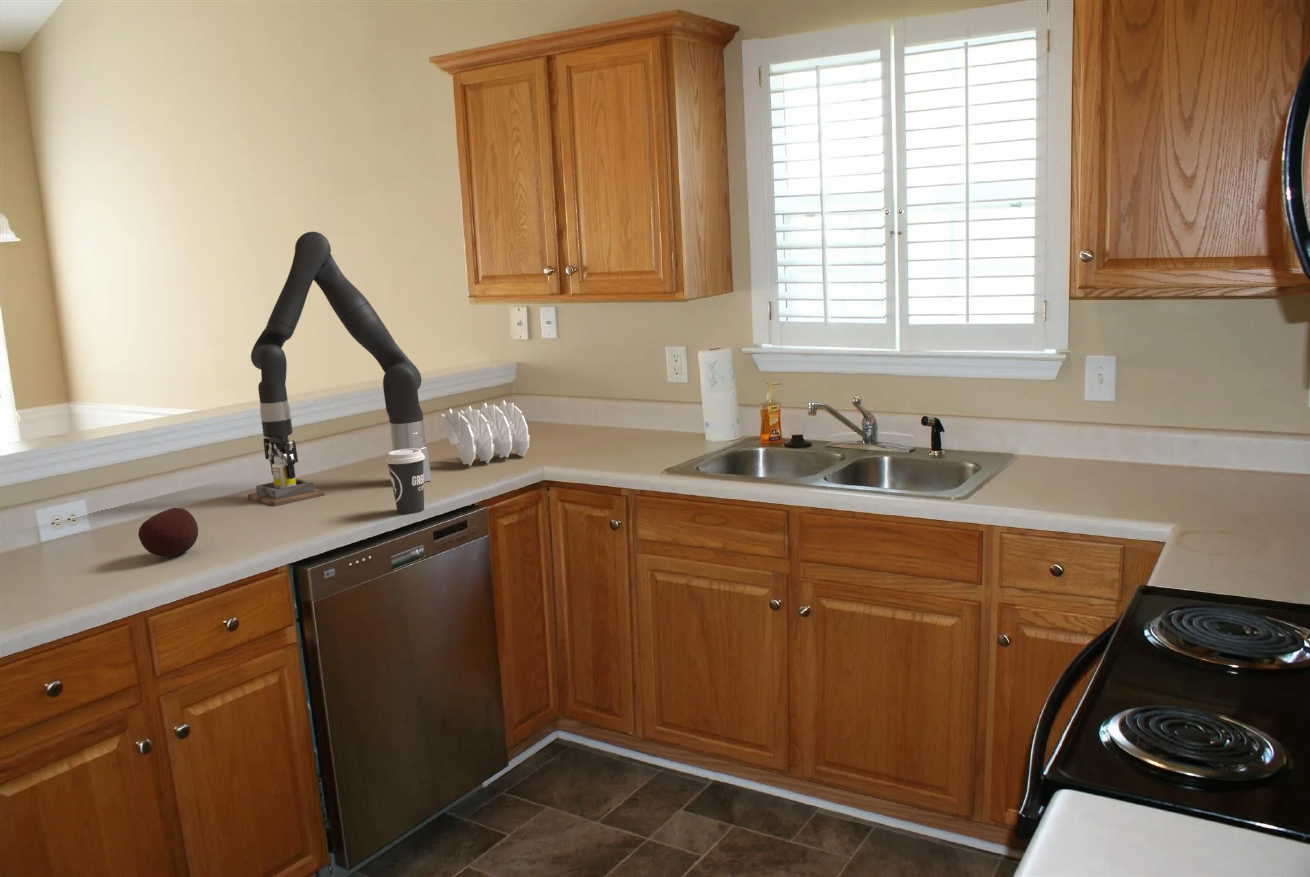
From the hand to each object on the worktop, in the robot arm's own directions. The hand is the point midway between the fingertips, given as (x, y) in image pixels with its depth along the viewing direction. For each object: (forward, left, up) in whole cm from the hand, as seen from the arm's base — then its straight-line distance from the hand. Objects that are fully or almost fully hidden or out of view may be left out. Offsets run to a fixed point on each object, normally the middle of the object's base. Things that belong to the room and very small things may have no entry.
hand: (283, 476), depth 282 cm
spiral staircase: (-13, -60, -6) cm, 62 cm away
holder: (0, 0, -6) cm, 6 cm away
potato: (-33, +43, -6) cm, 55 cm away
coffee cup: (-46, -10, -6) cm, 47 cm away
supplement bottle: (0, 0, -5) cm, 5 cm away
